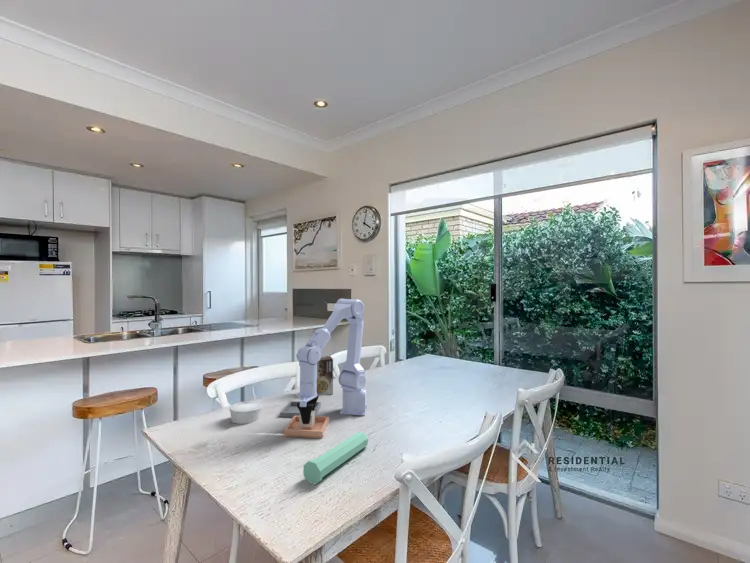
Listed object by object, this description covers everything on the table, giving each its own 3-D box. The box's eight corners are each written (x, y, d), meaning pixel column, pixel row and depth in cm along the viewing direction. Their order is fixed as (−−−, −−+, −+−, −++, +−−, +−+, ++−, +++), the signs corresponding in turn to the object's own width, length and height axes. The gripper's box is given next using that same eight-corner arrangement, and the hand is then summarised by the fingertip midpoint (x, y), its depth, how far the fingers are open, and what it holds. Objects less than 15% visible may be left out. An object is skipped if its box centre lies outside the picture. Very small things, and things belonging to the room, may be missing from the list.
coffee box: (330, 390, 168) (330, 355, 168) (333, 394, 162) (333, 358, 161) (310, 392, 165) (310, 356, 165) (312, 396, 159) (313, 359, 159)
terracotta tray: (329, 422, 130) (329, 416, 130) (322, 438, 117) (322, 431, 117) (294, 421, 131) (294, 415, 131) (283, 436, 118) (283, 430, 118)
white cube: (315, 422, 126) (315, 410, 126) (312, 427, 122) (312, 415, 122) (302, 421, 126) (302, 410, 126) (299, 426, 122) (299, 415, 122)
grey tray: (320, 407, 145) (321, 402, 145) (314, 419, 133) (314, 413, 133) (289, 406, 146) (290, 400, 146) (280, 418, 133) (280, 412, 133)
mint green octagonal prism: (359, 424, 114) (307, 456, 93) (374, 435, 112) (323, 471, 90) (353, 440, 115) (299, 475, 94) (367, 451, 113) (316, 490, 91)
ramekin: (253, 412, 139) (253, 398, 139) (267, 420, 131) (268, 406, 131) (224, 420, 131) (224, 405, 131) (237, 429, 123) (237, 414, 123)
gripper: (302, 375, 131) (301, 412, 132) (290, 387, 117) (290, 429, 117) (321, 375, 131) (320, 413, 131) (312, 387, 117) (311, 429, 117)
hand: (307, 420), depth 124 cm, fingers closed on white cube, 4 cm apart
